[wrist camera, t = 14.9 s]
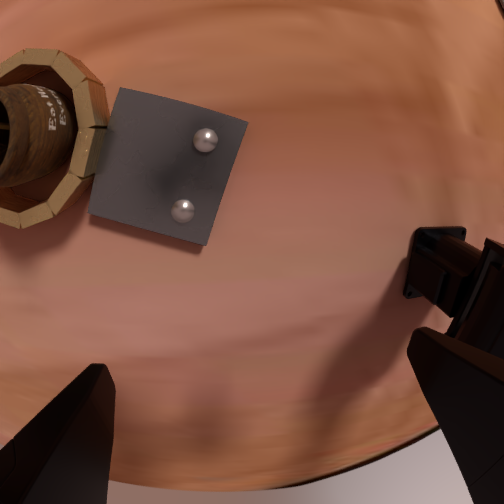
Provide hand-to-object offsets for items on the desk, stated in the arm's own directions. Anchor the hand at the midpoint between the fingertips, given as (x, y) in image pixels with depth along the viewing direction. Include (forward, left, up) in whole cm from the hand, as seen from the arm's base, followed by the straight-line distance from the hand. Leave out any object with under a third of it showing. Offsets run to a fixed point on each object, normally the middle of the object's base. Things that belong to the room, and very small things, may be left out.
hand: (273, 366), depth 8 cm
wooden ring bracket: (+13, -7, -13) cm, 20 cm away
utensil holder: (+13, -7, -13) cm, 20 cm away
